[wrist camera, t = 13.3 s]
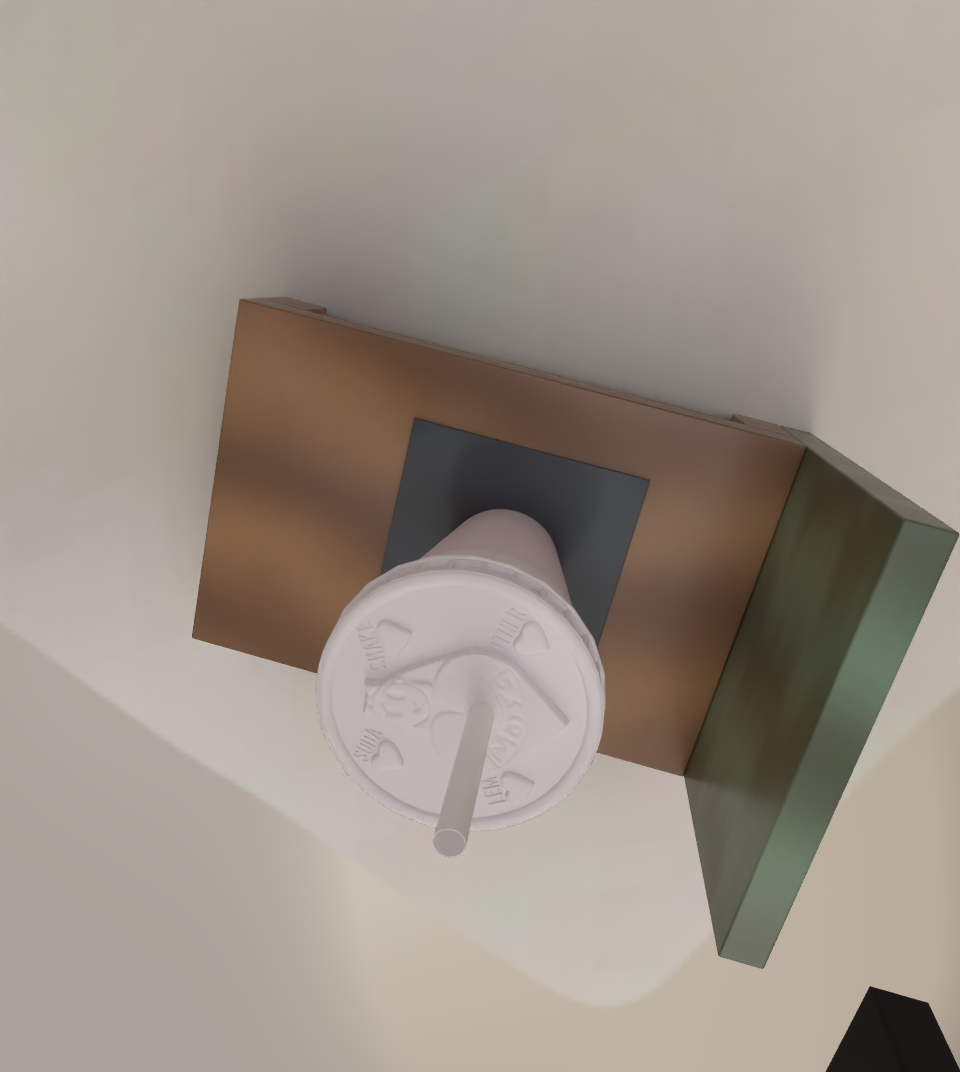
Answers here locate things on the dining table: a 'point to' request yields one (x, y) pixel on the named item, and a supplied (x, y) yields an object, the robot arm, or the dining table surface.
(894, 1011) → the robot arm
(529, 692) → the smoothie
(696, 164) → the dining table surface
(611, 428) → the wooden board with backrest
